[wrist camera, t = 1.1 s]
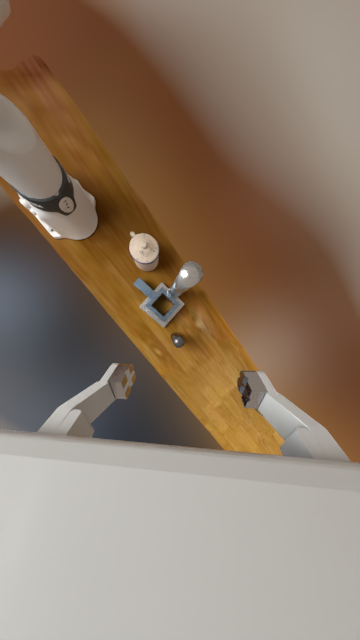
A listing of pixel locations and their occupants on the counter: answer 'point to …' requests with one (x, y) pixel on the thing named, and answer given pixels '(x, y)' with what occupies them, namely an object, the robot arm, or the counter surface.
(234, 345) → the counter surface
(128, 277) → the counter surface
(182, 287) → the box with upright lever
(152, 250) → the teacup with lid
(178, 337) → the dark grey rounded rod
